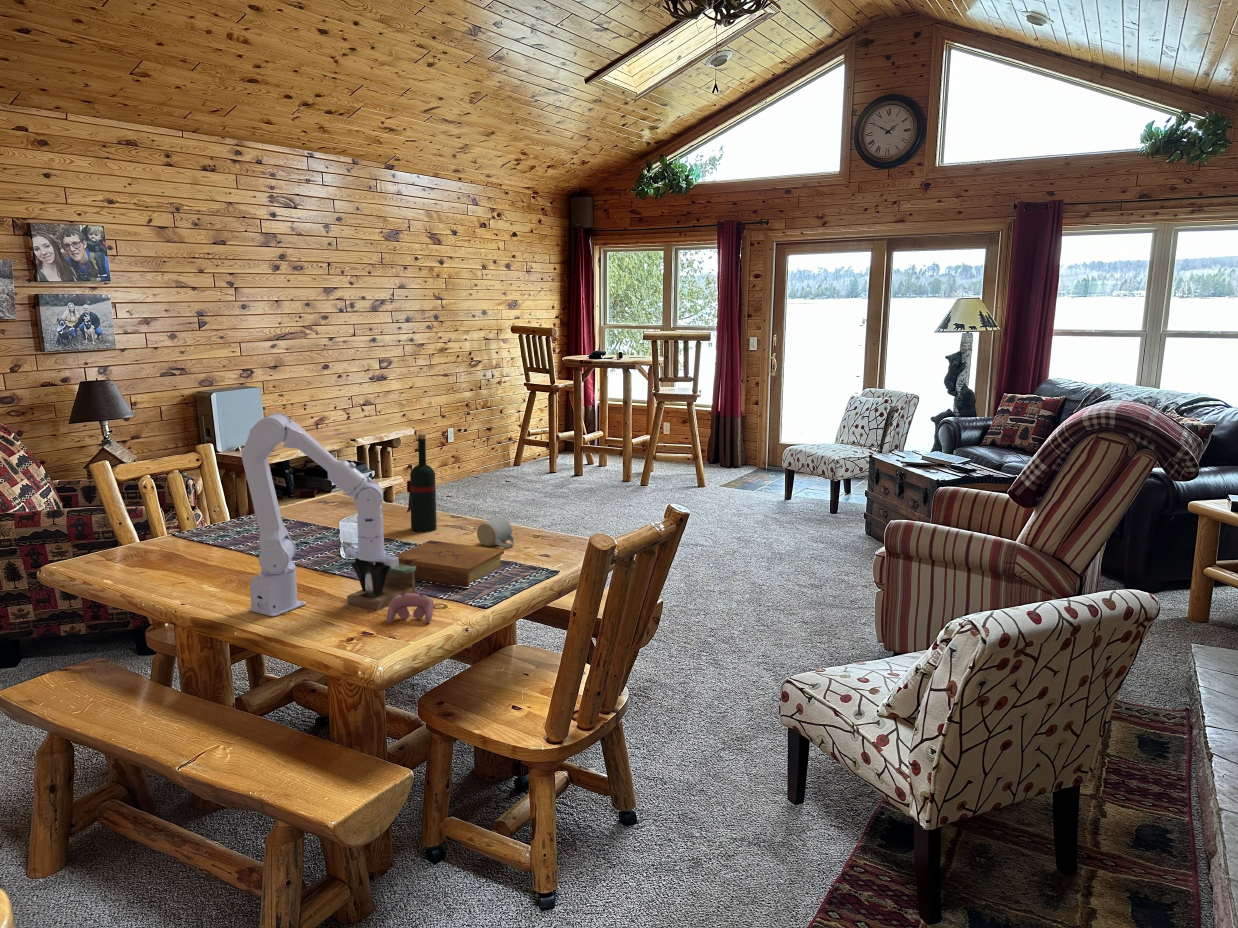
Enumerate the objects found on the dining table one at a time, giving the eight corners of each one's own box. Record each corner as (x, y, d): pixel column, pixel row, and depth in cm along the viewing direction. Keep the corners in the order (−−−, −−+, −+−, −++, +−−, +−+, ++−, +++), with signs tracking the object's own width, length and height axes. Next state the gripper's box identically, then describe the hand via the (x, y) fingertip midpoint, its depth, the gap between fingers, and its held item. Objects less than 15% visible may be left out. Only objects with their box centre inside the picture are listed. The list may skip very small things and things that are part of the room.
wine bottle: (415, 523, 261) (413, 431, 255) (441, 527, 257) (440, 434, 251) (399, 529, 254) (397, 434, 248) (426, 533, 250) (424, 437, 244)
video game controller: (434, 625, 181) (436, 594, 183) (430, 623, 176) (432, 591, 178) (389, 625, 180) (391, 593, 182) (384, 623, 176) (387, 591, 178)
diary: (389, 579, 208) (388, 558, 207) (430, 560, 225) (430, 540, 224) (467, 591, 200) (467, 568, 199) (504, 570, 217) (503, 549, 216)
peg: (381, 600, 190) (380, 571, 189) (371, 603, 187) (370, 574, 186) (373, 597, 192) (372, 569, 190) (362, 601, 189) (361, 572, 188)
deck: (378, 610, 184) (377, 581, 183) (345, 603, 189) (344, 574, 188) (416, 594, 196) (416, 566, 195) (384, 587, 200) (384, 560, 199)
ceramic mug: (474, 545, 239) (474, 519, 237) (492, 538, 246) (492, 514, 244) (503, 551, 234) (503, 525, 232) (520, 544, 241) (521, 519, 239)
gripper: (407, 535, 187) (408, 591, 190) (359, 527, 193) (361, 581, 196) (385, 542, 181) (387, 600, 183) (337, 533, 187) (339, 590, 190)
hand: (372, 591), depth 189 cm, fingers closed on peg, 3 cm apart
